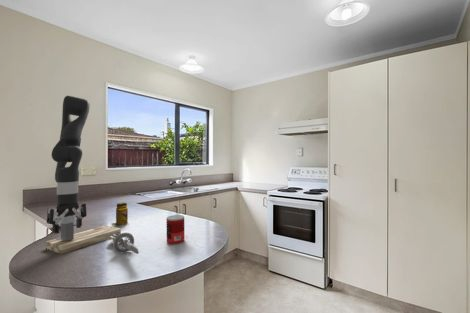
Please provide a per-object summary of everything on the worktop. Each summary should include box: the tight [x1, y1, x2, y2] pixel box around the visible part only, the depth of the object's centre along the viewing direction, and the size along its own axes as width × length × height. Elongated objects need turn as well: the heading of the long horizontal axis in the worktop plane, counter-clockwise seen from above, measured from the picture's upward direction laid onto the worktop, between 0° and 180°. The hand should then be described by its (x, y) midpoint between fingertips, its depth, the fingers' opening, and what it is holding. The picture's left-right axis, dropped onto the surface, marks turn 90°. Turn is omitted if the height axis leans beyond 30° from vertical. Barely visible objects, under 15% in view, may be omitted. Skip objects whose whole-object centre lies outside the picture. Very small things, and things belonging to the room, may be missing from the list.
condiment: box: [110, 202, 130, 228], centre depth 133 cm, size 7×8×12 cm
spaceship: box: [109, 231, 139, 255], centre depth 92 cm, size 8×35×8 cm
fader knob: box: [60, 222, 75, 241], centre depth 99 cm, size 4×3×8 cm
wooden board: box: [45, 225, 122, 255], centre depth 106 cm, size 12×26×3 cm, turn 152°
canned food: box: [166, 214, 185, 245], centre depth 104 cm, size 8×8×11 cm
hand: (67, 230), depth 98 cm, fingers open, 8 cm apart
